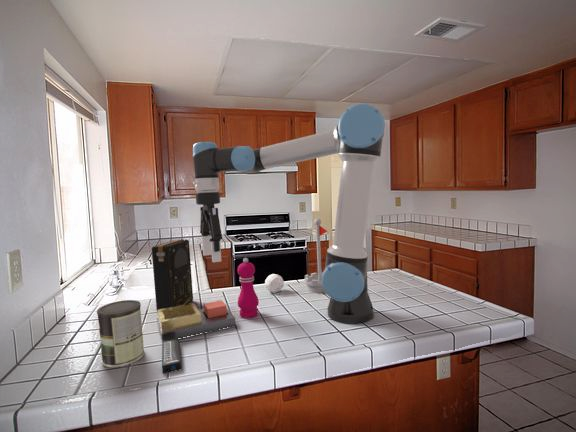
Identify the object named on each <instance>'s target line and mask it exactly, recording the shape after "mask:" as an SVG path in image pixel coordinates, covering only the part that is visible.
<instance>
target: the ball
mask: <svg viewBox="0 0 576 432" xmlns="http://www.w3.org/2000/svg"><path fill="white" fill-rule="evenodd" d="M284 282H285V281H284V279H283V277H282V276H281V275H279V274H275V273H272V274H269V275H268V276H267V277H266V279H265V280H264V286H265V289H266V291H268V292H270V293H273V294H275V293H276V294H277V293H279V292H281V290H282V289H283V288H284V286H285V285H284V284H285V283H284Z"/></svg>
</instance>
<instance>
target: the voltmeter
mask: <svg viewBox="0 0 576 432" xmlns="http://www.w3.org/2000/svg"><path fill="white" fill-rule="evenodd" d="M151 257H152V258H151V259H152V270H153V282H154V284H153V285H154V294H155V296H154V297H155V307H156V312H157V313H158V310H160V309H165V308H170V307H175V306H181V305H186V304H191V303H192V302H193V301H194V294H193V293H194V292H193V282H192V281H193V277H192V276H193V275H192V265H191V251H190V240H189V239H182V238H180V239H176V240H175V239H174V240H171V241H167V242H164V243H160V244H157V245H154V246H152V247H151Z"/></svg>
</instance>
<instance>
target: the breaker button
mask: <svg viewBox="0 0 576 432" xmlns="http://www.w3.org/2000/svg"><path fill="white" fill-rule="evenodd" d="M203 308H204V313H205V314H206V315H207V317H208V318H212V317H217V316H222V315H226V314H227V309H228V308H227V304H225V302H224V301H223V300H221V299H219V300H215V301H211V302H205V303H203Z"/></svg>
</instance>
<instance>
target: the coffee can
mask: <svg viewBox="0 0 576 432" xmlns="http://www.w3.org/2000/svg"><path fill="white" fill-rule="evenodd" d="M141 305H142V304H141V302H140V301H139V300H135V299H128V300H127V299H126V300H125V299H124V300H120V301H119V300H118V301H115V302H111V303H107V304H104V305H103V306H100V307H99V308H98V309H97V310H96V314H97V319H98V320H97V322H98V330H99V341H100V348H101V349H100V351H101V360H102V361H101V363H102V365H103V366H104V367H106V368H121V367H126V366H129V365H131V364H134V363H136V362H138V361H139V360H141V359H142V358H143V357H144V355H145V349H144V345H145V344H144V335H143V334H144V333H143V324H142V310H141ZM125 365H126V366H125Z"/></svg>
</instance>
